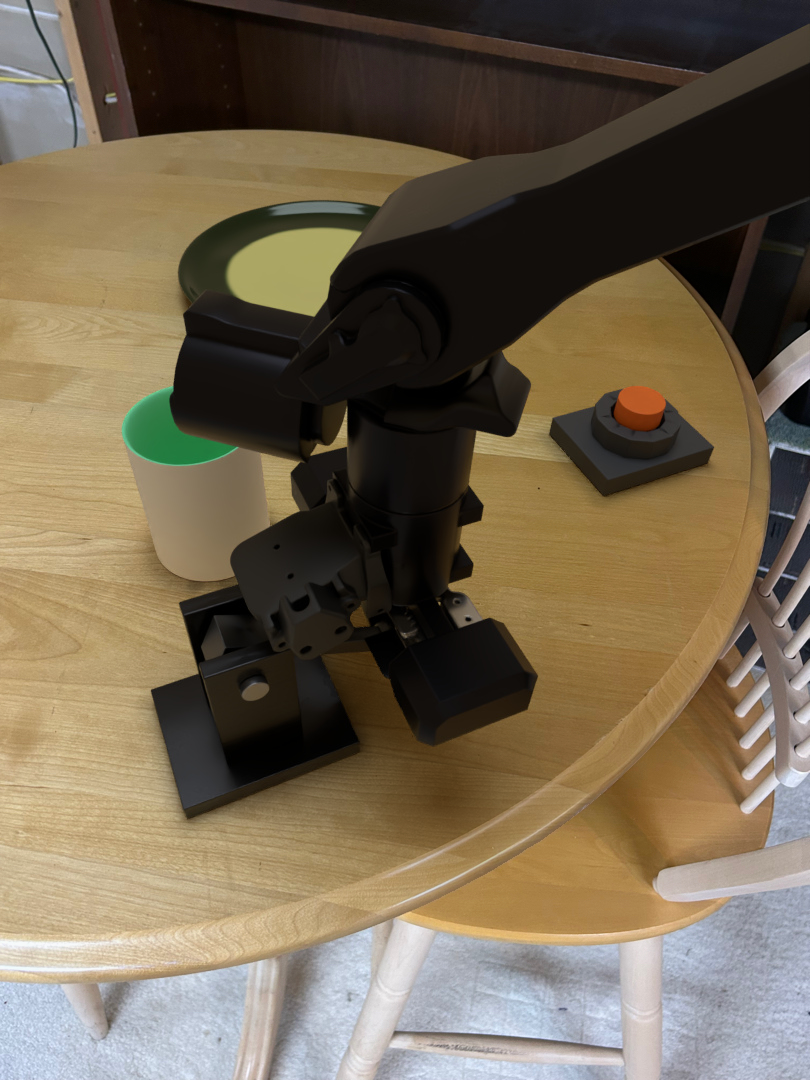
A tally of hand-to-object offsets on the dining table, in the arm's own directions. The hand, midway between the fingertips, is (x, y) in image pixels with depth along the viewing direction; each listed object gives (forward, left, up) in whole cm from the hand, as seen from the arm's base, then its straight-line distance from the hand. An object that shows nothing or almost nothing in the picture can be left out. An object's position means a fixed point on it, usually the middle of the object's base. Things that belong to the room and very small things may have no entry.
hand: (393, 663), depth 49 cm
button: (+12, -26, +2) cm, 29 cm away
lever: (0, +5, +3) cm, 6 cm away
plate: (+45, -12, -1) cm, 47 cm away
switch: (0, +9, -1) cm, 9 cm away
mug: (+17, +7, -1) cm, 19 cm away
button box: (+12, -26, -1) cm, 29 cm away
